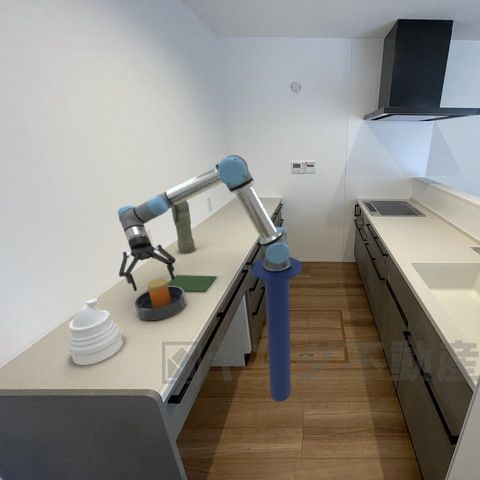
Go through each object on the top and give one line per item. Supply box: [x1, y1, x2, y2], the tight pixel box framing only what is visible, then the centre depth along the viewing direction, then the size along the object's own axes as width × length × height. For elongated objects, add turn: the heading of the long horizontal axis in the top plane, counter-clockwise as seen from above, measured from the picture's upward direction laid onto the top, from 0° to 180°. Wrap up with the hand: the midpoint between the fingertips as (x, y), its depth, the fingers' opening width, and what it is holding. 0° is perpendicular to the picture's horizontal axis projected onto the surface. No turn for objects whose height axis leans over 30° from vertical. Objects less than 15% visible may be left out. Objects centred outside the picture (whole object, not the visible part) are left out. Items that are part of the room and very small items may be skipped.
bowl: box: [134, 286, 187, 321], centre depth 107 cm, size 17×17×6 cm
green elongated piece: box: [170, 200, 196, 255], centre depth 157 cm, size 9×12×35 cm
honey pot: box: [67, 297, 124, 366], centre depth 83 cm, size 13×13×18 cm
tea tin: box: [146, 278, 171, 309], centre depth 105 cm, size 7×7×11 cm
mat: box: [168, 274, 217, 293], centre depth 126 cm, size 20×14×1 cm
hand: (155, 284), depth 107 cm, fingers open, 13 cm apart
